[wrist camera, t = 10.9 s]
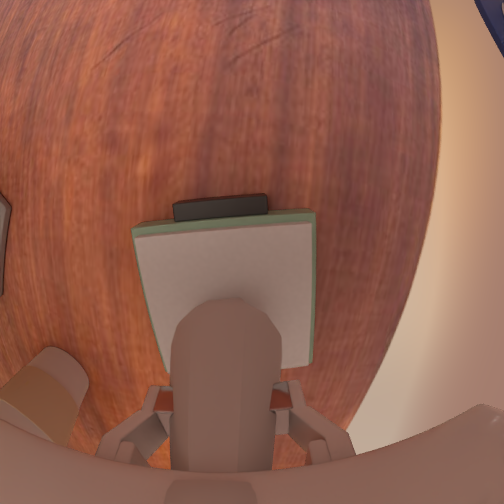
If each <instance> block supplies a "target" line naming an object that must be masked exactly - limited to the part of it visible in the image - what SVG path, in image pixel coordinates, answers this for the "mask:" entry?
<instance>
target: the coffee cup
mask: <svg viewBox="0 0 504 504" xmlns="http://www.w3.org/2000/svg"><path fill="white" fill-rule="evenodd" d="M88 387H89V380H88V377H87V374H86V372H85V371H84V369H83V368H82V366H81V365H80V364H79V363H78V362H77V361H76V360H75V359H74V358H73V357H72V356H71V355H69V354H68V353H67V352H65V351H63V350H61V349H59V348H56V347H51V346H50V347H46V348H44V349H43V350H42V351H41V352H40V353H39V354H38V355H37V356H36V357H35V358H34V359H33V360H31V361H30V362H29V363H28V364H27V365H26V366H24V367H23V368H22V369H21V370H20V371H19V372H18V373H16V374H15V375H14V376H13V377H12V378H11V379H10V380H9V381H8V382H7V383H6V384H5V385H4V386H3V387H2V388H1V389H0V419H2V420H5V421H7V422H8V423H10V424H12V425H14V426H16V427H18V428H20V429H23V430H25V431H27V432H29V433H31V434H34V435H36V436H38V437H41V438H43V439H46V440H48V441H51V442H54V443H56V444H59V445H62V446H65V447H67V444H68V441H69V439H70V436H71V433H72V430H73V427H74V425H75V422H76V419H77V416H78V413H79V408H80V406H81V403H82V401H83V398H84V396H85V394H86V391H87V389H88Z"/></svg>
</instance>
